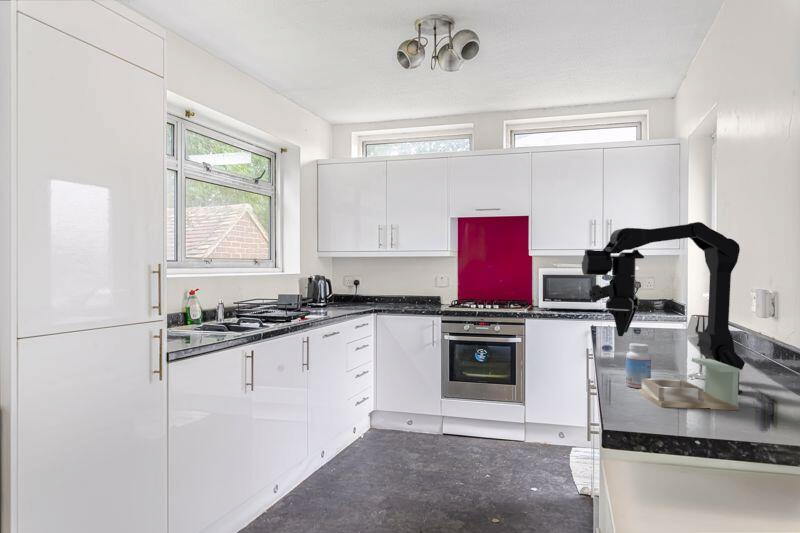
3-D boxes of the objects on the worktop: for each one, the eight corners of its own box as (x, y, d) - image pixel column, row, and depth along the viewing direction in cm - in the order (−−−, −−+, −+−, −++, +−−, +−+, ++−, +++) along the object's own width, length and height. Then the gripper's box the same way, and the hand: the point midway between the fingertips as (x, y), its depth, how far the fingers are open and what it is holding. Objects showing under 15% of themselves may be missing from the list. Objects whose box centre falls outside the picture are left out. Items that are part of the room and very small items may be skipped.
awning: (708, 395, 133) (709, 358, 133) (738, 410, 120) (739, 369, 120) (690, 395, 133) (691, 358, 133) (718, 409, 120) (719, 368, 120)
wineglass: (686, 378, 154) (688, 316, 153) (683, 373, 161) (685, 313, 161) (719, 381, 151) (721, 318, 150) (714, 376, 158) (716, 315, 158)
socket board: (708, 395, 133) (709, 379, 133) (738, 410, 120) (739, 392, 120) (639, 392, 134) (639, 377, 134) (661, 406, 121) (661, 389, 121)
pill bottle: (653, 390, 138) (654, 346, 138) (628, 388, 139) (629, 345, 139) (647, 384, 144) (648, 343, 144) (623, 383, 145) (624, 342, 145)
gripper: (597, 274, 153) (596, 328, 154) (585, 275, 137) (584, 335, 137) (639, 275, 148) (638, 331, 148) (632, 276, 132) (631, 339, 132)
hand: (622, 334), depth 141 cm, fingers open, 9 cm apart
